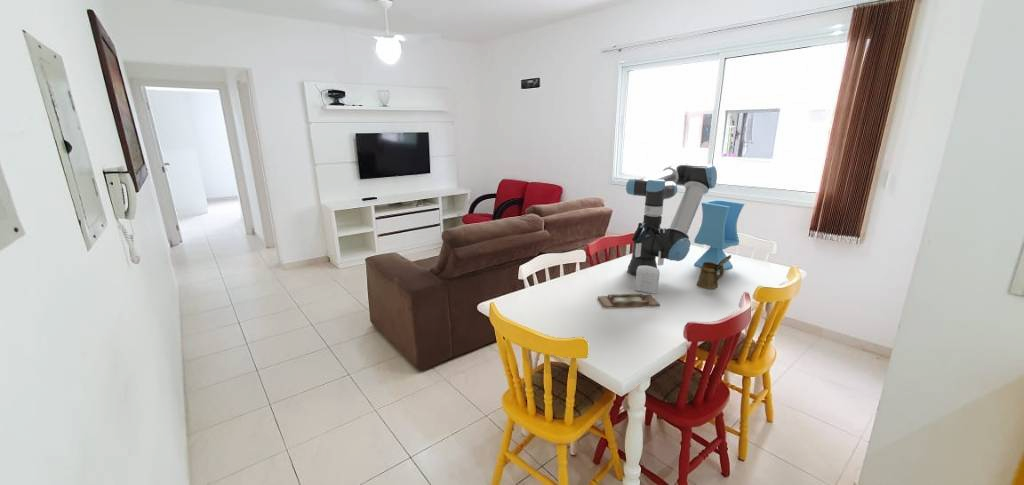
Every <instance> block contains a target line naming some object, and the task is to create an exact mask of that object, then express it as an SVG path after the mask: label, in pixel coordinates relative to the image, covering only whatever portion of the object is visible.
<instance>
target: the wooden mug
mask: <svg viewBox="0 0 1024 485" xmlns="http://www.w3.org/2000/svg"><path fill="white" fill-rule="evenodd" d="M726 256H727V255H726ZM731 258H732V255H731V254H730V255H728V256H727V257H726V258H724V259H723V260H722V261H721V262H720V263H719V264H715V263H711V262H704V263H703V265H702V267H700V269H701V270H700V274H699V276H698V280H697V282H696V286H697V287H698V288H700V289H703V290H710V291H711V290H712V291H713V290H717V289H718V287H719V283H718V282H719V280H720V279H721V278H722V277H723V275H724V273H725V270H724V267H723V264H724V263H726V262H727V261H728V260H729V261H730V259H731ZM718 270H719V271H720V272H718Z"/></svg>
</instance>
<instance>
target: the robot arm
mask: <svg viewBox="0 0 1024 485" xmlns="http://www.w3.org/2000/svg"><path fill="white" fill-rule="evenodd" d="M717 172H718V171H717V169H716V167H715V165H712V164H700V163H687V162H686V163H679V164H674V165H670V166H668V167H665V168H664V169H663V170H662V171H659V172H656V173H654V174H651V175H647V176H646V177H643V178H638V179H636V178H630V179H628V181H627V183H626V184H625V186H626V187H625V191H626V193H627V195H631V196H634V197H635V196H637V197H645V201H644V210H643V214H644V215H643V222H639V223H638V225H637V228H636V230H635V231H634V233H633V236H632V238H631V241H632V255H631V259H630V260H629V263H628V266H627V273H628V274H629V275H632V276H634V277H636V271H637V268H638V266H652V267H655V268H657V269H659V268H658V266H662V265H664V261H665V260H669V261H673V262H675V261H676V262H680V261H683V260H684V259H685V258H686V257H687V256H688V254H689V252H690V249H691V241H690V237H689V234H688V233H689V230H690V228H691V225H692V223H693V220H694V218H695V215H696V213H697V211H698V209H699V206H700V203H701V201H702V198H703V196H704V195H707V194H708V192H709V191H710V190H712V189H714V188H715V187H716V185H717V178H718V175H717ZM678 186H684V189H685V191H684V193H683V195H682V197H681V200H680V202H679V205H678V208H677V209H676V212H675V214H674V217H673V219H672V221H671V224H670V225H669V227H668V228H666V227H663V228H662V227H661V225H662V219H663V217H662V215H663V209H664V200H667V199H668V200H669V199H672V198H673V197H674V196H676V194H677V192H678ZM656 258H657V260H656Z"/></svg>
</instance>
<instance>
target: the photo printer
mask: <svg viewBox="0 0 1024 485" xmlns="http://www.w3.org/2000/svg"><path fill="white" fill-rule="evenodd" d="M657 268H658V267H657ZM657 268H655V267H652V266H638V268H637V271H636V276H635V282H634V290H635V291H638V292H643V293H649V294H653V295H656V294H658V292H659V282H660V275H661V274H660V269H659V268H658V269H657Z"/></svg>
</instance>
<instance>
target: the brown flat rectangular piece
mask: <svg viewBox="0 0 1024 485" xmlns="http://www.w3.org/2000/svg"><path fill="white" fill-rule="evenodd" d="M597 299H598V301H599V300H600V301H599V303H600V302H601V303H602V304H601V303H600V304H601V305H603V306H604V307H621V308H642V306H651V307H660V306H661V304H660V303H659V301H657V300H656V298H655V297H654V296H653V295H651V294H644V293H625V294H624V293H622V294H621V293H620V294H608V295H599V296H597ZM603 306H602V307H603ZM604 307H603V308H604Z"/></svg>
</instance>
